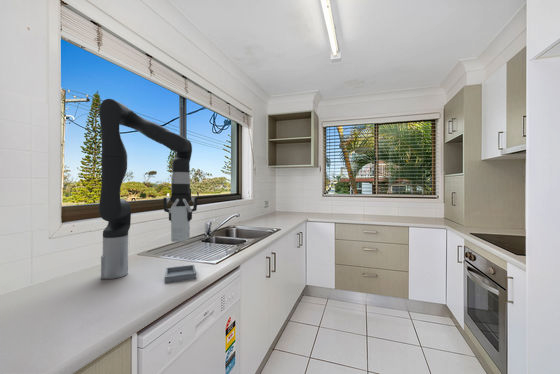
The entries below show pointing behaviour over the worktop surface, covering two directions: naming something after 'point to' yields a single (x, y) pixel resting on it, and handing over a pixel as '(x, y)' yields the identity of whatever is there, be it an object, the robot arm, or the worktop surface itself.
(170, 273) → the tray
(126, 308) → the worktop surface
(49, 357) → the worktop surface
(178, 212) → the skincare box
